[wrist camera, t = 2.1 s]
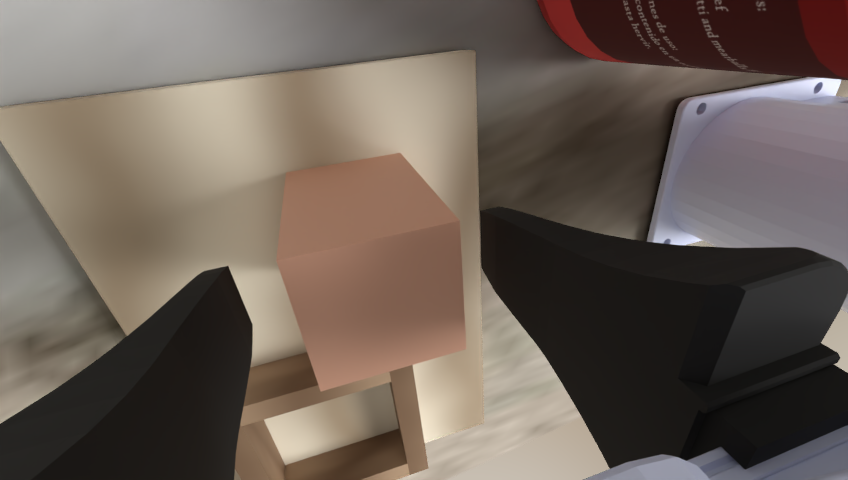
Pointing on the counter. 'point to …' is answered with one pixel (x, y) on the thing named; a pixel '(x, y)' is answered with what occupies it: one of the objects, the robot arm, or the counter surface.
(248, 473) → the board
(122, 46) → the counter surface
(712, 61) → the canned food
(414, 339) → the block
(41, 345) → the counter surface
